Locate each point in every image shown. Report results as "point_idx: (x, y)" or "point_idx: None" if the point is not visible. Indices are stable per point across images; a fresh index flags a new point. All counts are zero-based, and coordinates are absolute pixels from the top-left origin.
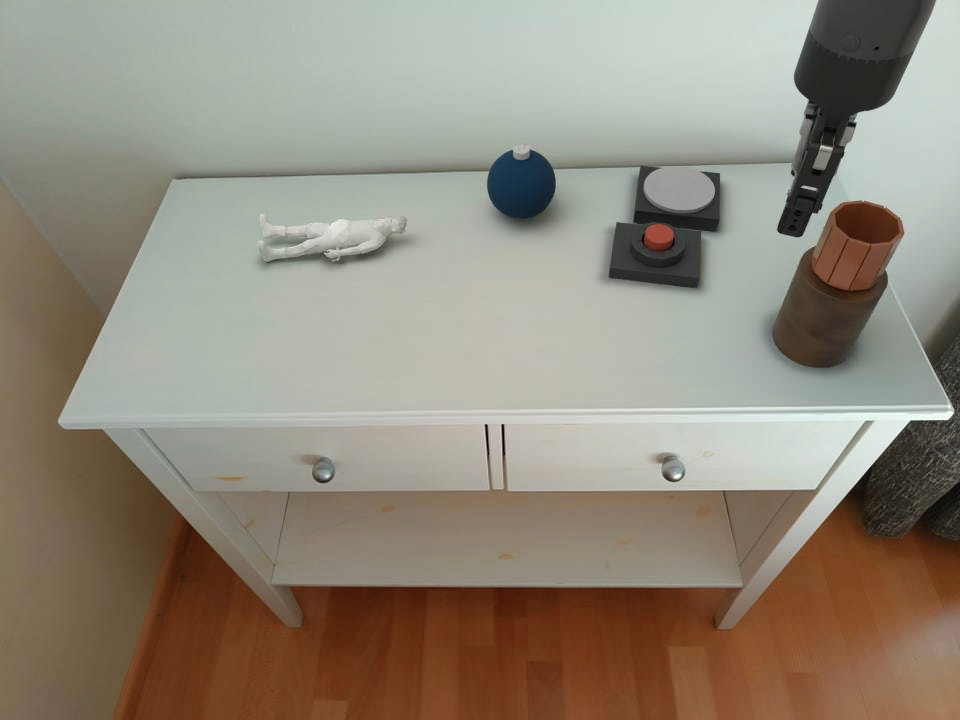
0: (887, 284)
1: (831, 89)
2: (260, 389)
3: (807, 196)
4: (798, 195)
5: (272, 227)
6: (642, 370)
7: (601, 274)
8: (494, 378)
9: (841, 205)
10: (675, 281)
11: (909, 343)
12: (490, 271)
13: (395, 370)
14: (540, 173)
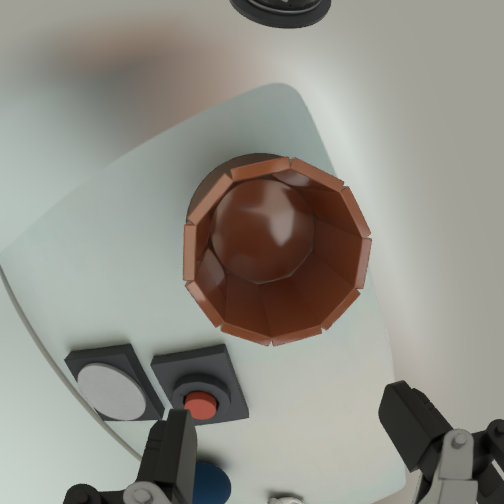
0: (265, 153)
1: None
2: (392, 470)
3: (491, 460)
4: (485, 469)
5: None
6: (350, 350)
7: None
8: (376, 418)
9: (232, 329)
10: (231, 366)
11: (212, 108)
12: (278, 460)
13: (376, 450)
14: (204, 495)
